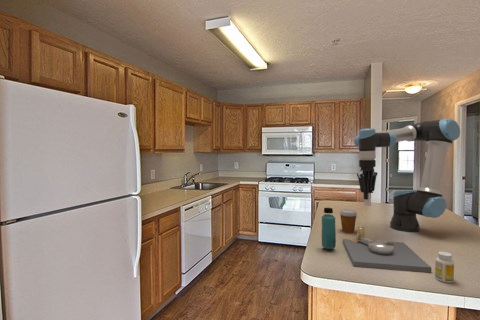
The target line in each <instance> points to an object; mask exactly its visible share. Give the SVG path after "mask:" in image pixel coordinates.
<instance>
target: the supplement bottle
mask: <svg viewBox="0 0 480 320" xmlns="http://www.w3.org/2000/svg"><path fill="white" fill-rule="evenodd" d="M452 259H453V254H452V253H450V252H446V251H438V252H437V257H436V258H435V262H434V264H435V268H434V269H435V272H434V276H435V279H436V280H438V281H440V282H442V283H447V284H449V283H454V281H455V279H454V278H455V262H454V260H452Z"/></svg>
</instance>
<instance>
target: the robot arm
mask: <svg viewBox="0 0 480 320" xmlns="http://www.w3.org/2000/svg"><path fill="white" fill-rule="evenodd" d="M460 135H461V128H460V126H459V123H458V122H457V121H456V120H455V119H452V118H445V119H444V118H442V119H436V120H426V121H421V122H418V123H414V124H409V125H405V126H404V127H402V128H401V127H400V128H395V129H387V130H382V131H376V129H375V128H362V129H360V130H359V131H358V134H357V135H356V136H355V137H354V139H353V143H354V146H356V147H357V148H358V157H359V158H358V159H359V161H358V166H359V168H360V171H359V173H356V177H357V179H358V183H359V184H358V185H359V188H360V192H361V193H363V200H364V201H363V203H364V205H363V206H366V207H371V206H372V194H374V191H375V189H376V183H377V181H376V180H377V177H378V172H377V171H375V167H376V165H377V164H376V155H377V154H376V153H377V152H376V149H377V148H392V147H394V146H395V145H396V143H400V142H404V141H405V142H410V143H411V142H425V143H426V145H428V147H427V151H426V159H425V164H424V167H423V173H422V178H421V184H420V187H419V188H417V189H398V190H397V189H396V190H395V191H394V192H393V198H392V199H393V201H392V202H393V206H392V207H393V215H392V217H391V218H390V219H391V220H390V221H389V222H390V223H389V227H390V228H391V229H393V230H396V231H399V232H400V231H401V232H407V233H408V232H409V233H411V232H412V233H413V232H419V231H421V229H420V228H421V226H420V224H419V220H418V218H417V215H419V216H423V217H424V218H425V217H426V218H431V219H434V218H440V217H441V216H442V215H444V213H445V211H446V209H447V202H446V199H445V198H444V197H443V193H442V192H441V185H442V182H443V181H442V180H443V175H444V169H445V165H446V159H447V153H448V149H449V147H451V146H452V145H453V141H456V140H457V139H458V138H460Z"/></svg>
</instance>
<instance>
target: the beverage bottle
mask: <svg viewBox="0 0 480 320" xmlns="http://www.w3.org/2000/svg"><path fill="white" fill-rule="evenodd" d="M323 213H325V214H323V215H322V216H321V247H322V248H325V249H328V250H332V249H336V247H337V245H336V244H337V243H336V242H337V237H336V234H337V233H336V217H335V216H334V215H333V213H334V209H333V208H332V207H324V208H323Z"/></svg>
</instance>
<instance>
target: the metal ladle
mask: <svg viewBox="0 0 480 320" xmlns="http://www.w3.org/2000/svg"><path fill="white" fill-rule="evenodd" d="M356 229H357V232H356V233H357V235H355V240H358V241H360V242H363V243H365V244H367V245H368V249H369V250H370V251H371V252H373V253H376V254H381V255H391V254H393V253H394V245H393V244H392V243H389V242H390V241H388V242H386V240H380V239H369V238H367V237H365V227H363V226H357V227H356Z"/></svg>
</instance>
